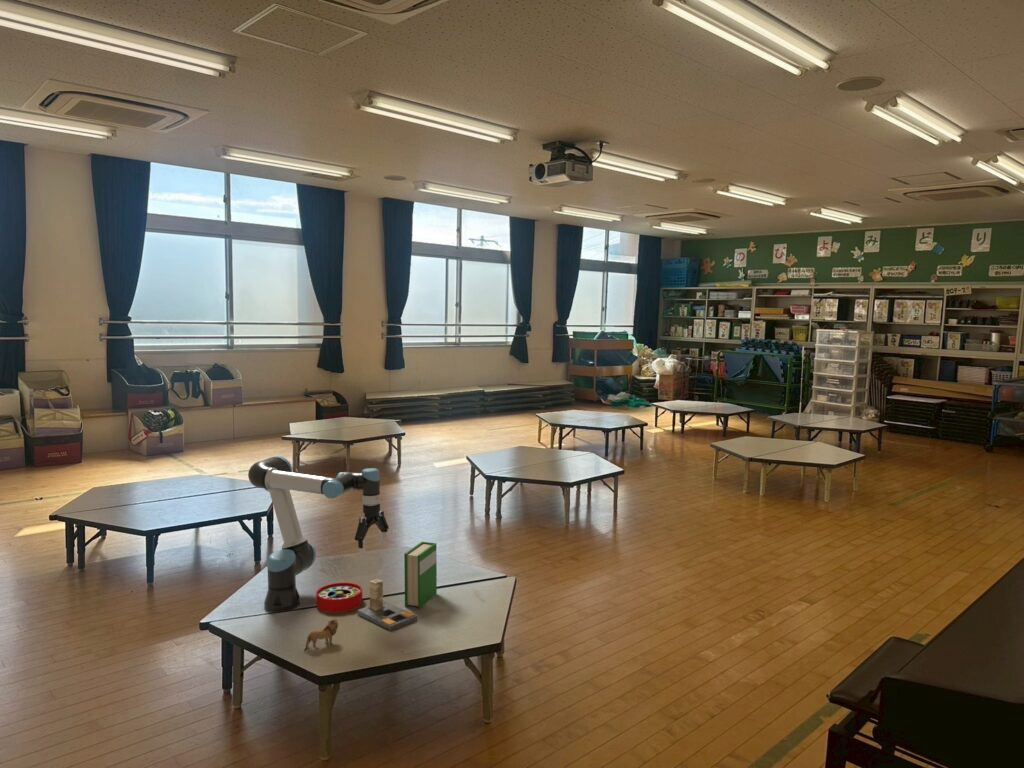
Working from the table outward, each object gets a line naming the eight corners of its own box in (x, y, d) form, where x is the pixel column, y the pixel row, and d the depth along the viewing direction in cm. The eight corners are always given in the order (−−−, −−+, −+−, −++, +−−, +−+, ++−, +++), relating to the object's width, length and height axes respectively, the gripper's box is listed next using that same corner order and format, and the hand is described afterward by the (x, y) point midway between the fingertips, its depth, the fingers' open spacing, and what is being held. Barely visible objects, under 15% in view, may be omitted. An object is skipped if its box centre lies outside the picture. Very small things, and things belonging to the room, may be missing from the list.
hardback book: (419, 608, 303) (419, 555, 301) (404, 606, 305) (404, 553, 303) (436, 593, 320) (436, 543, 317) (422, 591, 322) (421, 541, 320)
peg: (375, 615, 296) (375, 583, 295) (369, 612, 299) (369, 581, 297) (383, 612, 299) (382, 581, 298) (377, 609, 301) (377, 578, 300)
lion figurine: (333, 637, 275) (333, 615, 274) (341, 641, 271) (341, 619, 271) (300, 650, 264) (300, 627, 263) (308, 654, 261) (307, 631, 260)
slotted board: (390, 631, 281) (390, 625, 280) (357, 614, 296) (357, 609, 296) (417, 620, 291) (417, 615, 291) (384, 604, 306) (383, 599, 306)
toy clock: (371, 587, 312) (341, 603, 294) (371, 600, 313) (341, 616, 295) (337, 579, 321) (306, 594, 304) (337, 591, 322) (306, 607, 304)
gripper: (358, 511, 292) (360, 560, 294) (395, 498, 314) (396, 543, 316) (345, 509, 296) (346, 557, 298) (382, 496, 318) (383, 541, 320)
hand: (372, 550), depth 307 cm, fingers open, 13 cm apart
